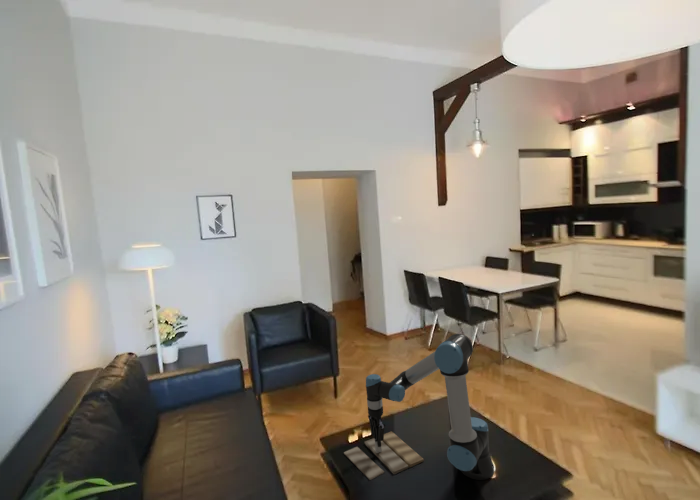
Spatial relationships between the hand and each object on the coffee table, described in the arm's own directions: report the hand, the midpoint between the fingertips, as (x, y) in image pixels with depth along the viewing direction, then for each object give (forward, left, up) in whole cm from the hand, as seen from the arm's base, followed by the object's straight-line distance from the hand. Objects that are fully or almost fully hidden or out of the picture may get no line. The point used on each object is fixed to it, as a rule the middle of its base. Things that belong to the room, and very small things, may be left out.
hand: (378, 451), depth 187 cm
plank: (-1, +10, -2) cm, 10 cm away
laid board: (-2, -11, -2) cm, 12 cm away
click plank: (-2, -2, -2) cm, 4 cm away
